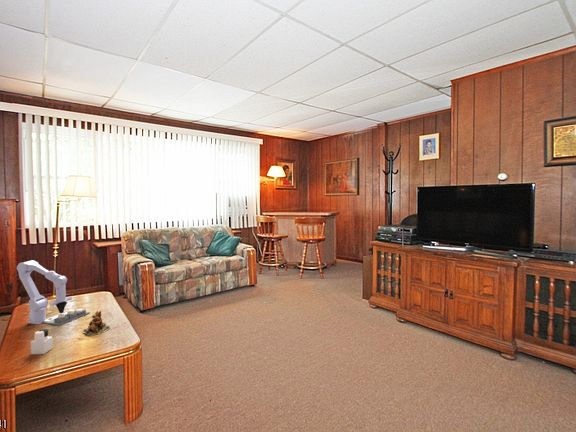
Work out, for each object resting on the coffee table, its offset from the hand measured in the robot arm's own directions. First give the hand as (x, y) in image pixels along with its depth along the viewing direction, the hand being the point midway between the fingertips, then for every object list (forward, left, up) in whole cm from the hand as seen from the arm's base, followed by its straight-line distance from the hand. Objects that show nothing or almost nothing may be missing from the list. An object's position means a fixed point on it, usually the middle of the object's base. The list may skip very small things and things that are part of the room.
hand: (61, 312), depth 218 cm
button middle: (0, +7, -4) cm, 8 cm away
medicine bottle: (+30, -36, -7) cm, 47 cm away
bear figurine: (+35, -5, -7) cm, 37 cm away
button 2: (0, +14, -6) cm, 15 cm away
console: (-5, +7, -7) cm, 11 cm away
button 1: (0, 0, -4) cm, 4 cm away
